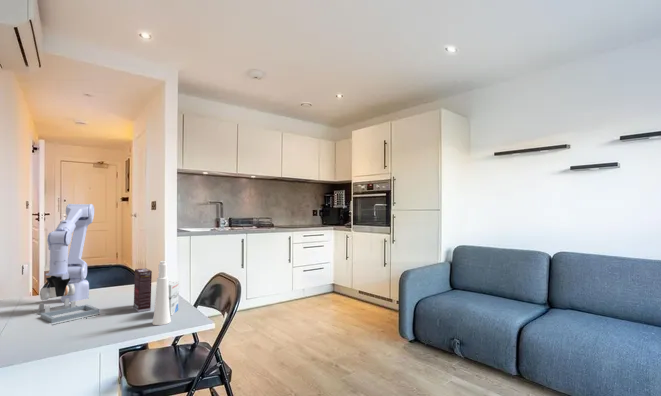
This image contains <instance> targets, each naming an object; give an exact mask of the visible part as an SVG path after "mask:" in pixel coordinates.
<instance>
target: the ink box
mask: <svg viewBox="0 0 661 396" xmlns="http://www.w3.org/2000/svg"><path fill="white" fill-rule="evenodd" d="M179 282H180V281H178V280H172V281H171V280H170V281H169V280H168V287H169V311H170V317H172V315H174V314H175V313H177V311H179V288H180V286H179V284H180V283H179Z"/></svg>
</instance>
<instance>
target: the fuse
mask: <svg viewBox="0 0 661 396" xmlns="http://www.w3.org/2000/svg"><path fill="white" fill-rule="evenodd" d="M74 293H75V286H74V284H67V286H66V289H65V293H64V295H63V296H66V295H67V296H71V295H74ZM39 298H40V300H42V301H45V300H50V299H53V298H58V297H57V296H56V291H55V287H52V288H50V287H42V288H41V289H40V292H39Z"/></svg>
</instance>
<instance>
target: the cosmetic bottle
mask: <svg viewBox="0 0 661 396" xmlns="http://www.w3.org/2000/svg"><path fill="white" fill-rule="evenodd" d="M168 281H169V277H168V264H167V260H161V261H159V264H158V276H157V278H156V285H155V286H156V287H155V300H154V301H155V302H154V312H153V318H152V322H151V323H152V326H153V325H154V326H165V325H167V324H170V323H171V322H172V319H171V316H170V311H169V287H168Z"/></svg>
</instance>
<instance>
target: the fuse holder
mask: <svg viewBox="0 0 661 396" xmlns="http://www.w3.org/2000/svg"><path fill="white" fill-rule="evenodd" d="M76 302H77V301H71V302H69V298H68V299H64V302H63V303H64V304H62V305H58V306H53V307H51V305H50V304H49V305H45V302H41V303H38V309H36V310H32V313H35V314H37V315H39V316H41V313H46V312H51V311H57V310H62V309H67V308H72V307H77V306H78V305H76Z"/></svg>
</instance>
